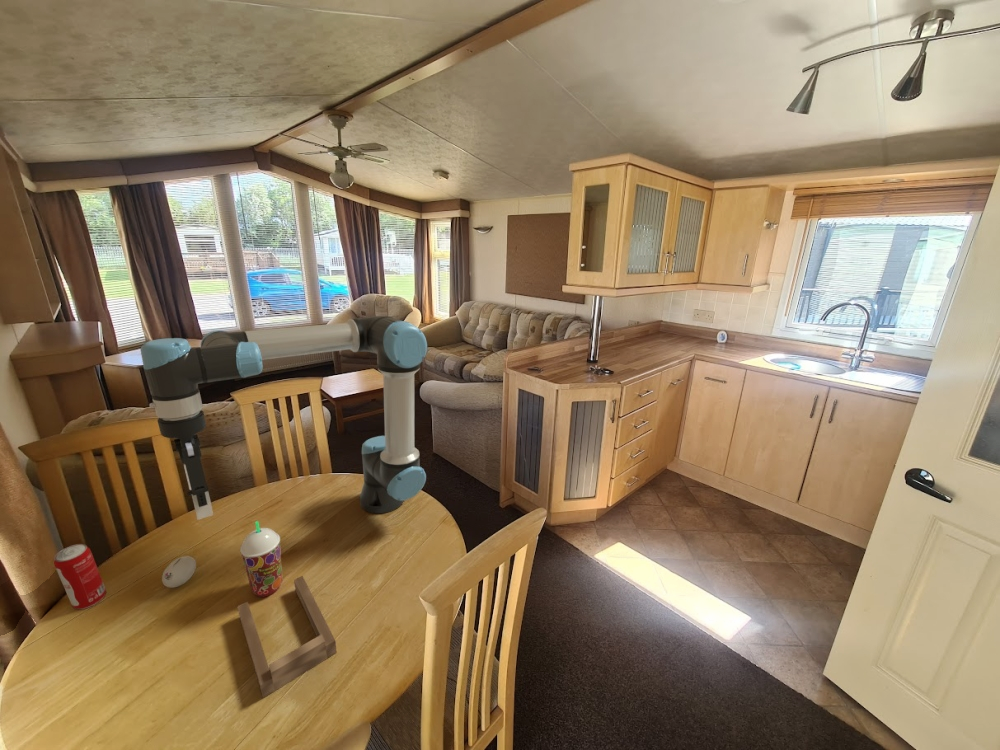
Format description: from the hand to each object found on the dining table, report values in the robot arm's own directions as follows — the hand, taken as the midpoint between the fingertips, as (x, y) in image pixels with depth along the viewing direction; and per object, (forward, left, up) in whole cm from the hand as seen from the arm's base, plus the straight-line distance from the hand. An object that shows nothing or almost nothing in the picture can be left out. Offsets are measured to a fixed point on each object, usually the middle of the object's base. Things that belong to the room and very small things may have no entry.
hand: (200, 501), depth 87 cm
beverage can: (+24, -19, -28) cm, 41 cm away
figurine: (+7, -12, -28) cm, 31 cm away
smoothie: (-9, +3, -28) cm, 30 cm away
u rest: (-9, +20, -28) cm, 36 cm away
